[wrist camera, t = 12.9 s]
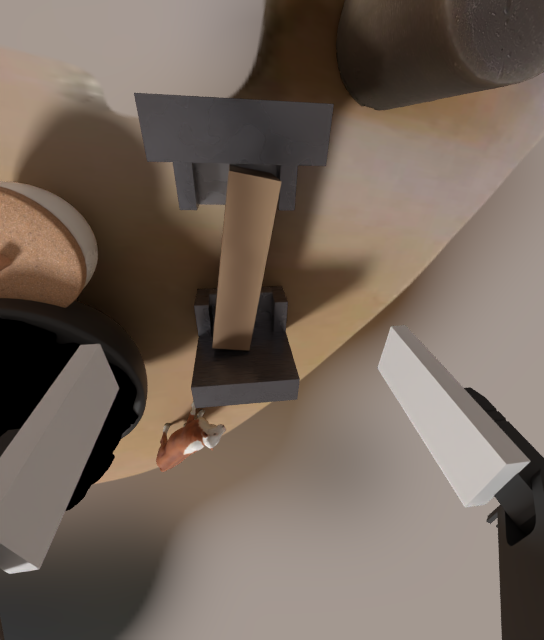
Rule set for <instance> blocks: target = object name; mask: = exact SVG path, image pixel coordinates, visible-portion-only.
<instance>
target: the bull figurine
mask: <svg viewBox="0 0 544 640" xmlns="http://www.w3.org/2000/svg"><path fill="white" fill-rule="evenodd" d="M195 410H196V408H195V405H194V401H193V404H192V411H191V412H190V415H189V417H188V419H187V423H186V424H184V426H183V428H181V429H179V430H177V431H175V432H174V433H173V434H172V435H171V436H170V438H169V440H167V431H168V429H169V427H170V424H165V425H164V429H163V436H162V439H161V441H160V443H161V447H160V448H159V451H158V454H157V459H156V462H157V465H158V466H159V467H160V470H161V471H162V472H164V471H166V470H168V469H171V468H173V467H174V466H176V465H178V464H180V463H181V462H182V461H183V460H184V459H185V458H186V457H188V456H190V455H191V454H192V453H195V452H196V451H198V450H200V449H202V448H203V447H204V446H207V447H208V448H211V449H212V450H213V447H214V446H215V445H217V444H218V442H219V441H220V437H221V435H222V434H223V432H225V431H226V429H225V426H224V425H222V424H220V425H218V426H216V425H214V424H209V423H208V421H207V420H206V419H204V418H203V417H202V416H203V414H204V412H205V411H204V410H200V411H199V413H198V414H197V416H198V419H196V420H194V416H195Z"/></svg>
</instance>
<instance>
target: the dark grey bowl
mask: <svg viewBox="0 0 544 640" xmlns="http://www.w3.org/2000/svg"><path fill="white" fill-rule="evenodd" d="M88 344H100V345H101V347H102V350H103V352H104V354H105V357H106V359H107V361H108V363H109V366H110V368H111V370H112V373H113V375H114V377H115V380H116V382H117V384H118V386H119V390H118V392H117V395H116V397H115V399H114V401H113V404H112V406H111V408H110V410H109V413H108V415H107V417H106V419H105V422H104V424H103V426H102V429H101V431H100V433H99V435H98V438H97V440H96V442H95V444H94V447H93V449H92V451H91V454H90V456H89V458H88V460H87V463H86V465H85V467H84V469H83V472H82V474H81V476H80V478H79V481H78V483H77V485H76V488H75V490H74V492H73V494H72V497H71V499H70V501H69V503H68V506H67V508H66V510H65V511H67V510H70V509H71V508H73V507H74V506H75V505H77V504H78V503H79V502H80V501H81V500H82V499H83V498H84V497H85V495H86V493H87V491H88V489H89V488H90V486H91V485H92V484H94V483H95V482H97V481H98V480H99V479H100V478H101V477H102V476H103V475H104V473H105V472H106V471H107V470H108V468H109V467H110V465H111V463H112V461H113V460H114V458H115V456H114V455H113V451H114V450H115V448H116V447H117V445H118V444H119V441H120V440H121V439H122V438H123V437H125V436H126V435H127V434H129V433H130V432H131V431H132V430H133V429H134V428H135V427H136V425H137V424H138V422H139V421H140V419H141V417H142V415H143V413H144V410H145V406H146V399H147V375H146V369H145V365H144V362H143V359H142V356H141V354H140V352H139V350H138V348H137V346H136V345H135V343H134V341H133V340H132V339H131V337H130V336H129V335H128V334H127V332H126V331H125V330H124V329H123V328H122V327H121V326H119V325H118V324H117V323H116V322H115V321H114V320H112V319H111V318H110V317H108V316H107V315H105V314H103V313H102V312H100V311H98V310H96V309H94V308H92V307H90V306H87V305H85V304H82V303H80V302H77V301H74V302H73V303H71V304H70V305H69V306H68V307H66V308H64V307H60V306H56V305H52V304H47V303H43V302H37V301H32V300H23V299H12V298H0V437H1V436H2V435H3V434H4V433H6V432H7V431H8V430H14V429H21V428H22V426H23V425H24V423H25V422H26V421H27V419H28V418H29V416H30V415H31V414H32V412H33V411H34V409H35V408H36V407H37V405H38V404H39V402H40V401H41V400H42V398H43V397H44V395H45V394H46V393H47V391H48V390H49V388H50V387H51V386H52V384H53V383H54V381H55V380H56V379H57V377H58V376H59V374H60V373H61V372H62V370H63V369H64V367H65V366H66V365H67V363H68V362H69V360H70V359H71V358H72V356H73V355H74V353H75V352H76V351H77V349H78V348H79V346H80V345H88Z"/></svg>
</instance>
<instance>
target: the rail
mask: <svg viewBox="0 0 544 640" xmlns="http://www.w3.org/2000/svg"><path fill="white" fill-rule="evenodd" d="M281 182H282V181H280V180H279V179H278V178H277V177H275V176H274V175H273V174H272V173H268V172H263V171H259V170H254V169H249V168H244V167H239V166H235V165H230V164H229V172H228V183H227V193H226V204H225V214H224V225H223V235H222V246H221V256H220V266H219V277H218V287H217V298H216V308H215V319H214V332H213V345H212V348H216V349H232V350H248V351H249V349H250V344H251V339H252V334H253V328H254V323H255V318H256V313H257V307H258V302H259V297H260V292H261V286H262V281H263V276H264V271H265V266H266V260H267V255H268V250H269V245H270V239H271V234H272V229H273V224H274V218H275V213H276V208H277V203H278V197H279V192H280V187H281Z"/></svg>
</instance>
